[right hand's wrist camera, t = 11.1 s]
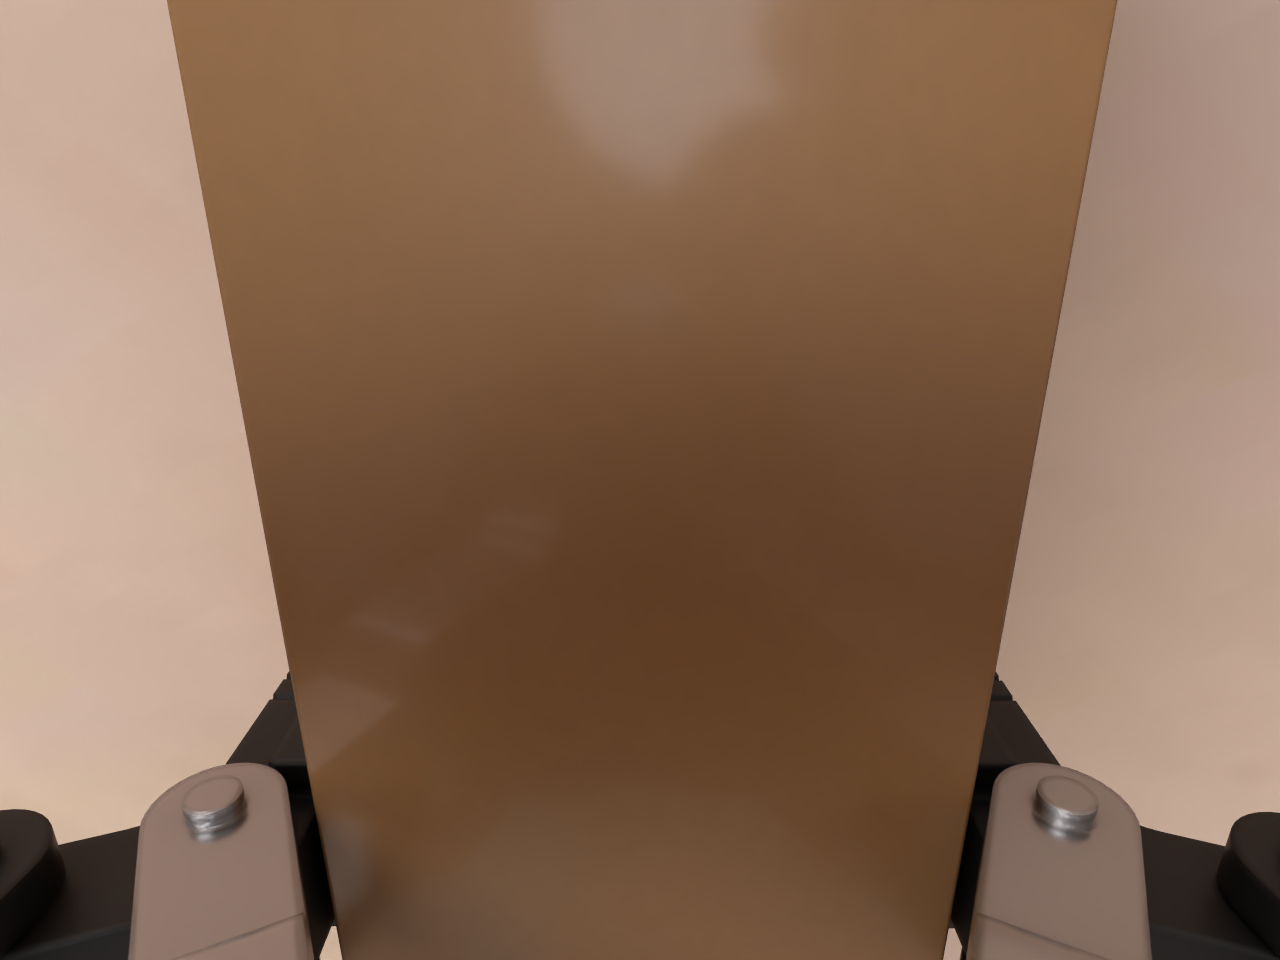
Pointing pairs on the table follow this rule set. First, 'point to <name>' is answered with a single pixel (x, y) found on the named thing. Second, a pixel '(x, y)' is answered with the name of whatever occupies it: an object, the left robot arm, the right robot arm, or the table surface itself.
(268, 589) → the table surface
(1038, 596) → the table surface
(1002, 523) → the box
